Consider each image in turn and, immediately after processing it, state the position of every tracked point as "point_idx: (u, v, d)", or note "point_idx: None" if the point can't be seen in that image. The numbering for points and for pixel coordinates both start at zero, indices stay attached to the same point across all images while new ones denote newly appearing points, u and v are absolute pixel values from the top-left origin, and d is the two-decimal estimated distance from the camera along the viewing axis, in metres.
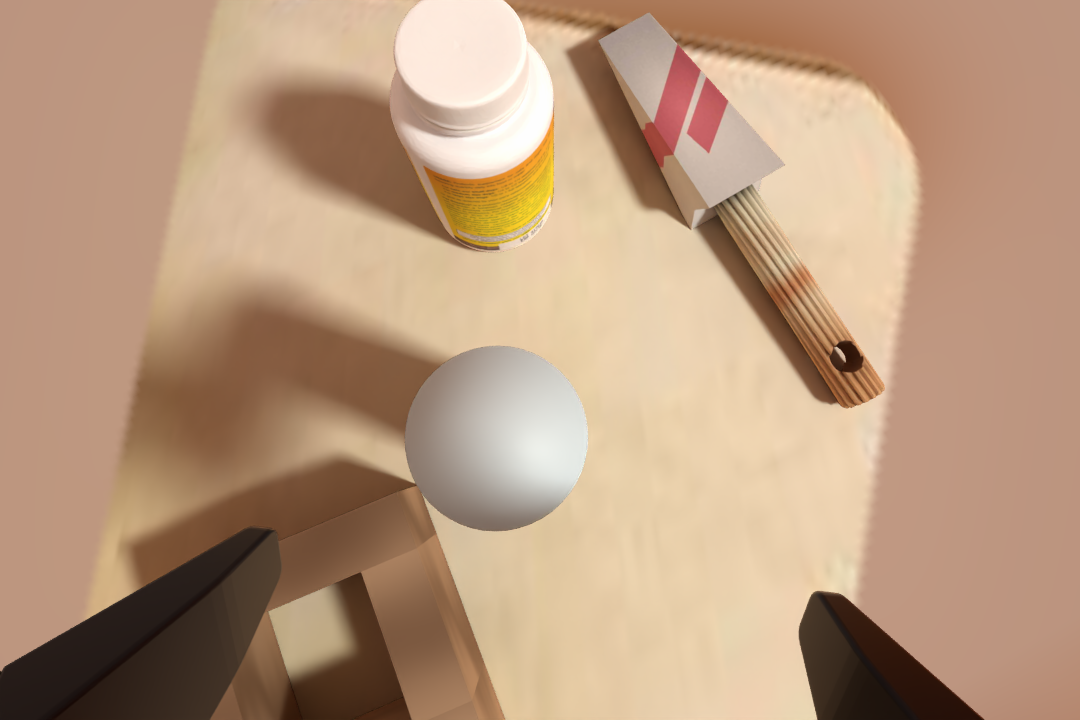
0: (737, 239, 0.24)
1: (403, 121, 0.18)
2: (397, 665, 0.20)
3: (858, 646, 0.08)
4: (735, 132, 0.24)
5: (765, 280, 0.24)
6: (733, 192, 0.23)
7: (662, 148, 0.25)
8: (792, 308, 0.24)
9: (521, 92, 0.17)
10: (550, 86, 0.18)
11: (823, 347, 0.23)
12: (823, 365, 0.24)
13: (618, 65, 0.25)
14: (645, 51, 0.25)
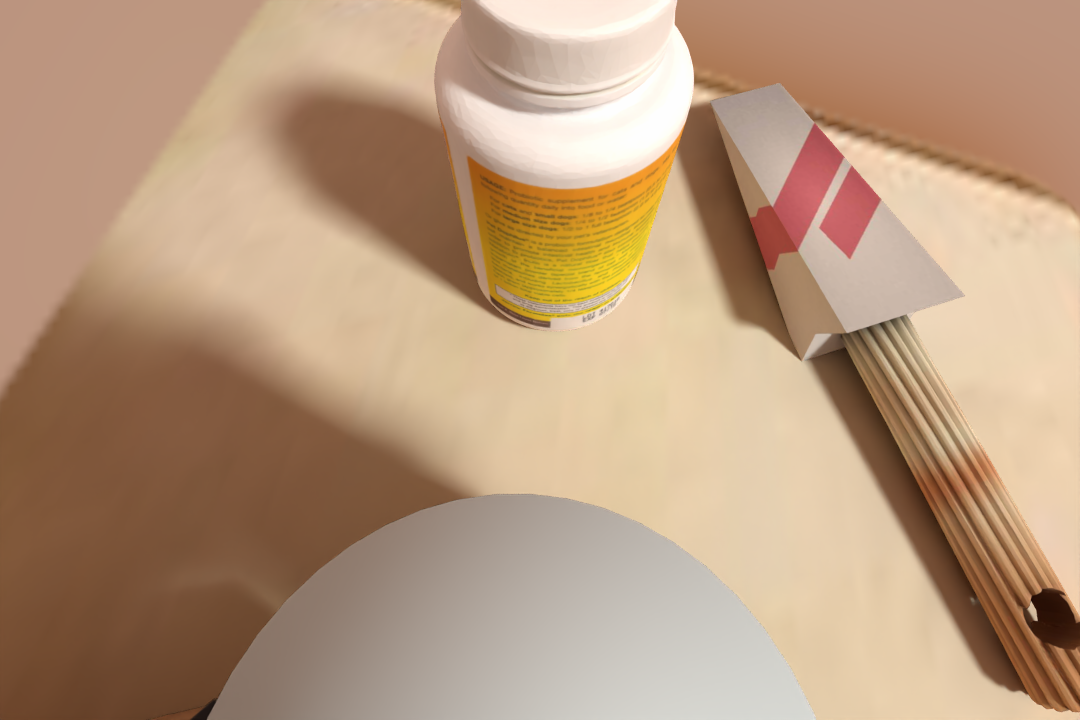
0: (875, 388, 0.16)
1: (451, 79, 0.11)
2: None
3: None
4: (890, 239, 0.17)
5: (916, 459, 0.16)
6: (884, 318, 0.16)
7: (779, 243, 0.17)
8: (961, 513, 0.15)
9: (656, 52, 0.10)
10: (692, 73, 0.11)
11: (1013, 591, 0.14)
12: (1010, 621, 0.14)
13: (732, 132, 0.19)
14: (770, 123, 0.19)
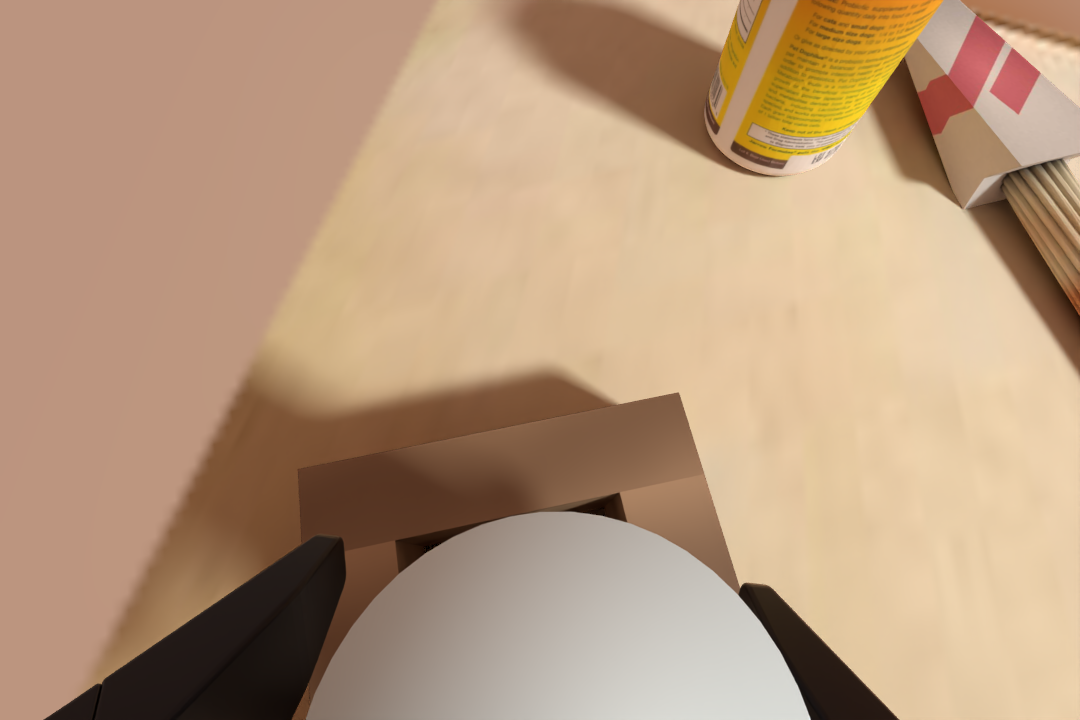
0: (1035, 222, 0.20)
1: None
2: None
3: (776, 636, 0.08)
4: (1051, 102, 0.20)
5: (1072, 274, 0.19)
6: (1052, 157, 0.19)
7: (951, 106, 0.21)
8: None
9: None
10: None
11: None
12: None
13: None
14: (938, 14, 0.22)
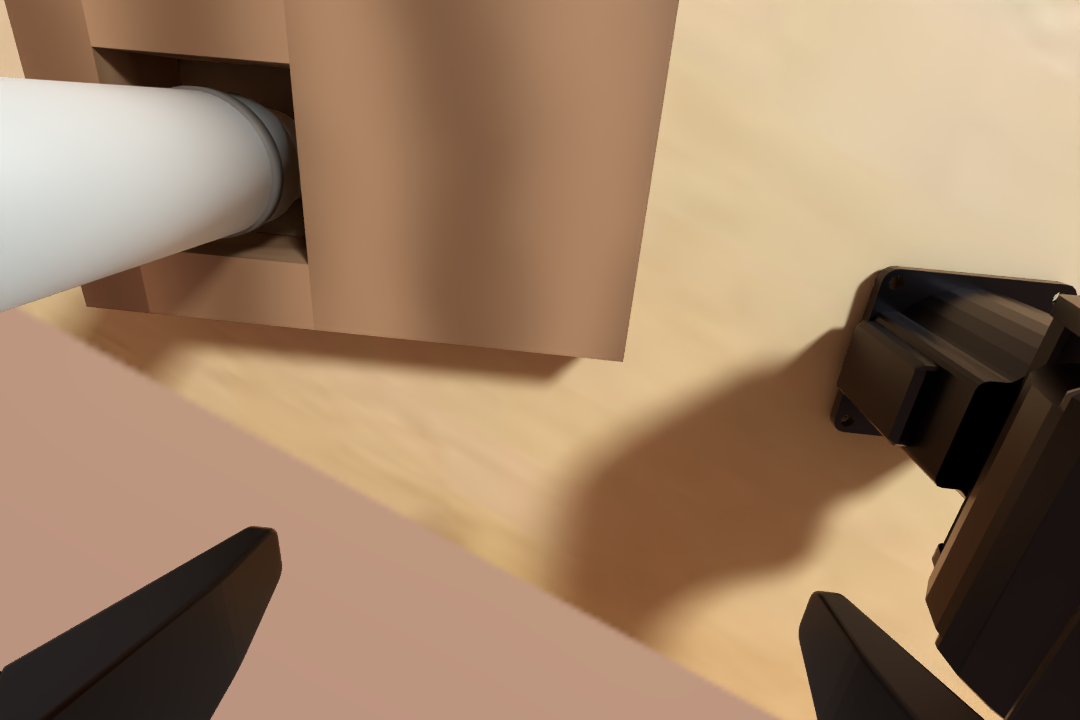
0: None
1: None
2: (213, 50, 0.15)
3: (858, 646, 0.08)
4: None
5: None
6: None
7: None
8: None
9: None
10: None
11: None
12: None
13: None
14: None
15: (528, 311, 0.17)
